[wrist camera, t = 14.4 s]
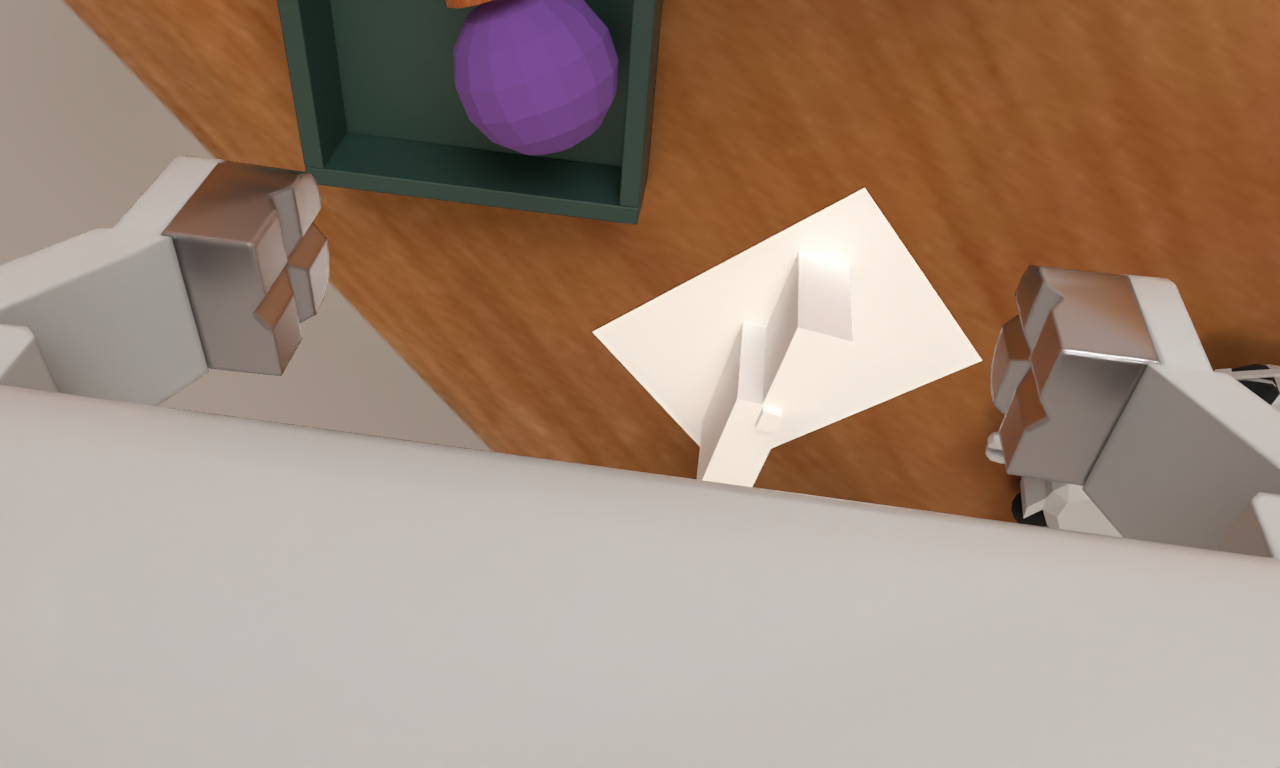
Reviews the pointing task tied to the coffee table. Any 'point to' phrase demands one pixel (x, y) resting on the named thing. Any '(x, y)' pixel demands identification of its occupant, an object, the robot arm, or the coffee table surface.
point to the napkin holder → (790, 337)
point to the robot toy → (1069, 501)
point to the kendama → (534, 72)
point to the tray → (456, 111)
